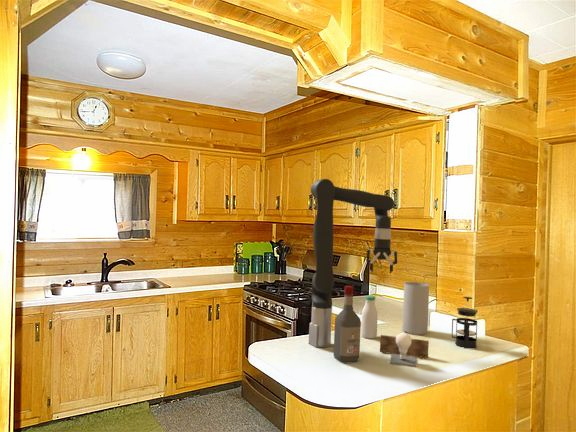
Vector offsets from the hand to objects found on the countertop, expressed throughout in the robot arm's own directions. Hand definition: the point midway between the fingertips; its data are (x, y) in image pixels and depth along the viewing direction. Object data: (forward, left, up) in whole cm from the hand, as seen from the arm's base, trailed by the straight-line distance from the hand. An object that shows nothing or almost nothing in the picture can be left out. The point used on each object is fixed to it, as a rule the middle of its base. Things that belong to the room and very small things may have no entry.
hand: (381, 272), depth 191 cm
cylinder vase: (+30, +5, -33) cm, 45 cm away
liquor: (-29, -12, -33) cm, 46 cm away
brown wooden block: (-2, -18, -33) cm, 38 cm away
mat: (-9, -24, -33) cm, 42 cm away
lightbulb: (-9, -24, -33) cm, 41 cm away
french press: (+35, -21, -33) cm, 53 cm away
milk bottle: (+1, +8, -33) cm, 34 cm away
